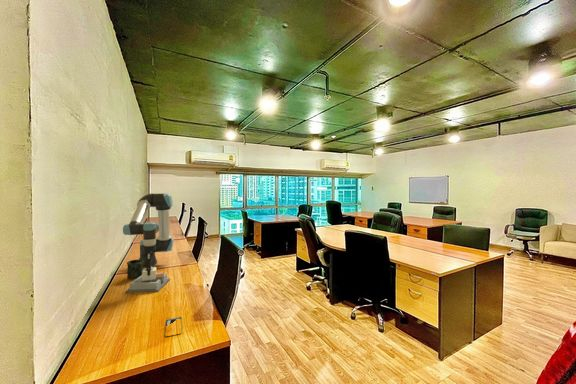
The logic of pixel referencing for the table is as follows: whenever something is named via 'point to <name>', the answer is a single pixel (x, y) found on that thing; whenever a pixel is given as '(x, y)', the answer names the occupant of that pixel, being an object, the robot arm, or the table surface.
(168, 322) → the smartphone
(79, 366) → the table surface
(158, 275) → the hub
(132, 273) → the mug
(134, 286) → the grey walled tray
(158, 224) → the robot arm
